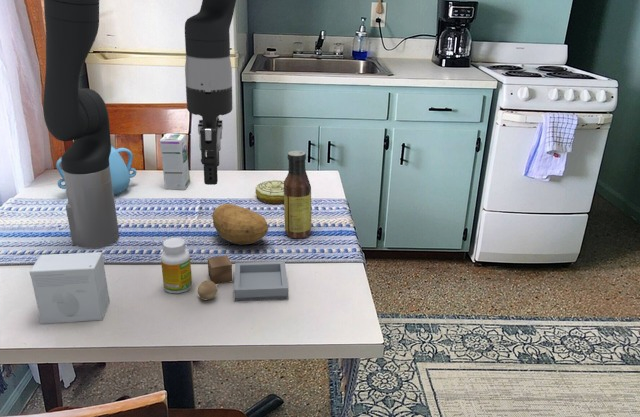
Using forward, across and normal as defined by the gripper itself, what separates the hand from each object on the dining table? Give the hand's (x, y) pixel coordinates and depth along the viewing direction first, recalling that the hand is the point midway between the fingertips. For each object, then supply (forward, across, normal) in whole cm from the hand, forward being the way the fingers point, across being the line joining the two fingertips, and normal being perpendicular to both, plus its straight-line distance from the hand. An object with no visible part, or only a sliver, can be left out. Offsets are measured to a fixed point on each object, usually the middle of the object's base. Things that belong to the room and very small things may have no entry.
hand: (212, 174), depth 97 cm
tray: (+23, +1, +9) cm, 25 cm away
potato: (+24, -18, +5) cm, 30 cm away
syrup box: (+24, -52, -13) cm, 59 cm away
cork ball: (+22, +4, -1) cm, 22 cm away
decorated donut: (+24, -43, +14) cm, 51 cm away
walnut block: (+24, -3, +1) cm, 24 cm away
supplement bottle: (+24, 0, -7) cm, 25 cm away
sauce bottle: (+24, -21, +18) cm, 36 cm away
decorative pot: (+25, -50, -33) cm, 64 cm away
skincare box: (+24, +6, -24) cm, 35 cm away
